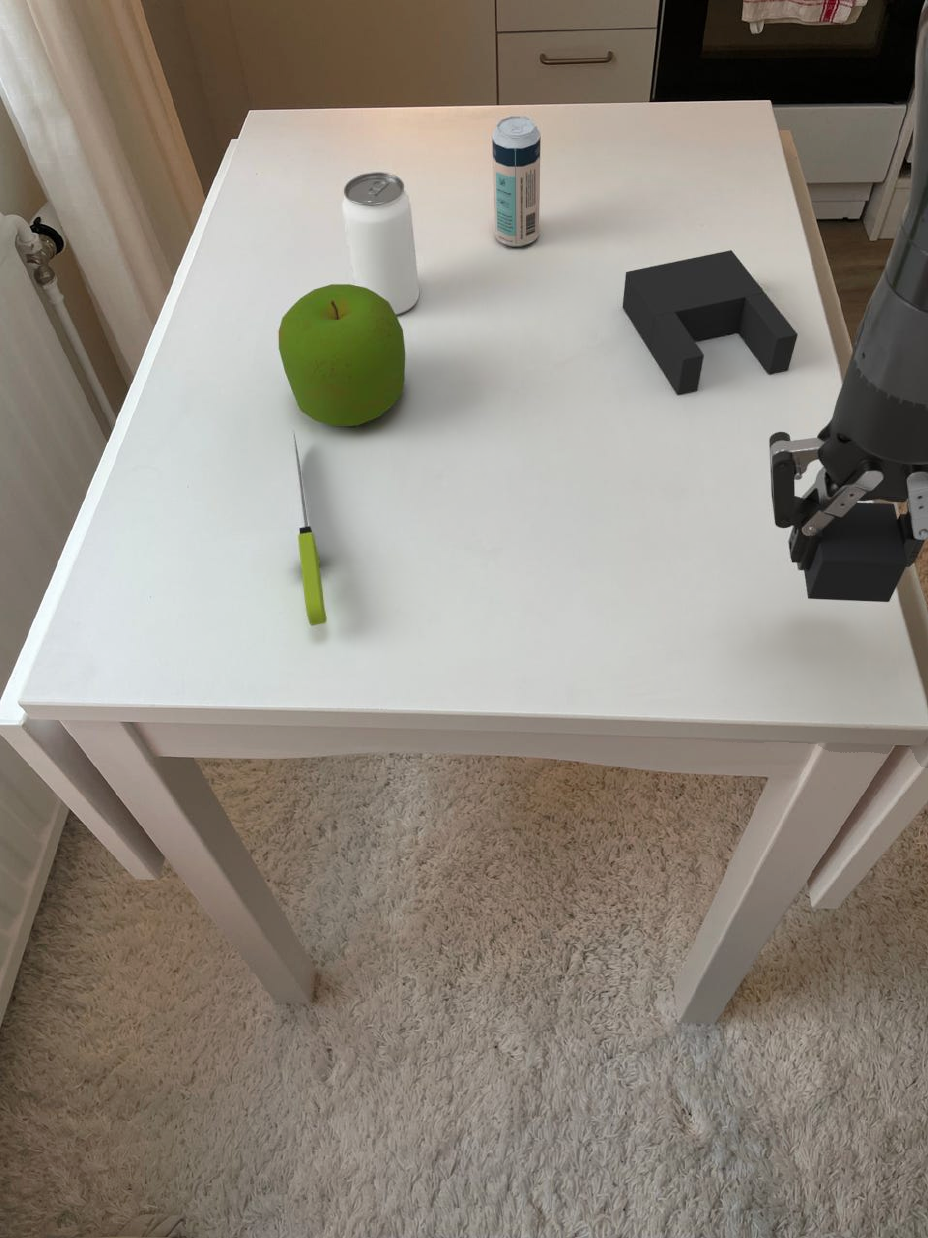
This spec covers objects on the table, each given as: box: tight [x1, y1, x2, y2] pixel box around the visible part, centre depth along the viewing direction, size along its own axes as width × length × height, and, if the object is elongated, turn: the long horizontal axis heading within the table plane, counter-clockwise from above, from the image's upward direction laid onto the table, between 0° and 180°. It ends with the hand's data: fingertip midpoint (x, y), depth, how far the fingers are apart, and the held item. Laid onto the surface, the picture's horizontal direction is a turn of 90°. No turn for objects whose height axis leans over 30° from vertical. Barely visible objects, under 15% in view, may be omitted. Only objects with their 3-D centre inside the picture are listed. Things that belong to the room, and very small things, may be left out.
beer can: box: [491, 115, 541, 248], centre depth 99 cm, size 5×5×12 cm
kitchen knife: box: [292, 429, 327, 626], centre depth 78 cm, size 22×1×3 cm, turn 11°
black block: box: [803, 501, 907, 603], centre depth 63 cm, size 5×5×4 cm
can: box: [341, 171, 420, 316], centre depth 93 cm, size 6×6×12 cm
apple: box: [278, 283, 406, 427], centre depth 85 cm, size 11×11×11 cm
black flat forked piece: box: [622, 249, 798, 396], centre depth 90 cm, size 14×11×4 cm
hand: (847, 561), depth 64 cm, fingers closed on black block, 5 cm apart
